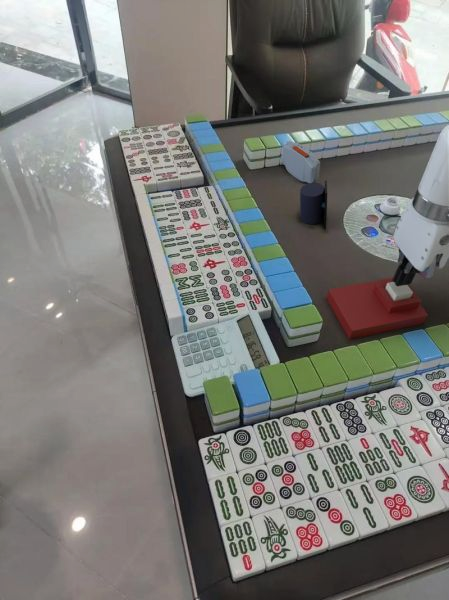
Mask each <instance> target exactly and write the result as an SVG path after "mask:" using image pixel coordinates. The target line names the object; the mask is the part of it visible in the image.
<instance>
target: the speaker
mask: <svg viewBox="0 0 449 600" xmlns="http://www.w3.org/2000/svg"><path fill="white" fill-rule="evenodd" d="M299 199H300V200H299V201H300V203H299V206H300V220H301V221H302V222H303V223H304V224H310V225H315V224H319V223H320V222H322V221H323V229H324V230H327V217H328V216H327V215H328V214H327V213H328V181H327V180H324V185H323V184H321V183H318V182H313V183H308V182H307V183H306V184H304V185H302V186H301V188H300V189H299Z"/></svg>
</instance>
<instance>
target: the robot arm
mask: <svg viewBox="0 0 449 600" xmlns="http://www.w3.org/2000/svg"><path fill="white" fill-rule="evenodd" d="M393 240H394V243H395V245H396V247H397V248H398V257H397V264H398V266H397V267H396V271H395V272H394V275H393V277H392V278H393V279H392V281H393V282H394V283H395V285H396V286H402V285H411V284H412V283H413V281H414V279H415V276H416V274H418V275H419V276H420V277H421V278H422V279H424V280H427V279H432V278H433V276H434V272H435V269H436V268H437V269H439V270H440V269H443V268H444V267H445V265H446V263H447V261H448V260H449V124H447V125H446V126H444V127H443V129H442V130H441V131H440V133H439V136H438V138H437V141H436V143H435V145H434V148H433V150H432V152H431V155H430V157H429V160H428V163H427V165H426V167H425V170H424V172H423V174H422V177H421V180H420V181H419V184H418V186H417V189H416V192H415V194H414V196H413V197H412V198H411V199H410V200H409V202H408V204H407V205H406V207H405V209H404V211H403V212H402V214H401V215H400V218H399V220H398V222H397V225H396V227H395V229H394V233H393Z"/></svg>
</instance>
